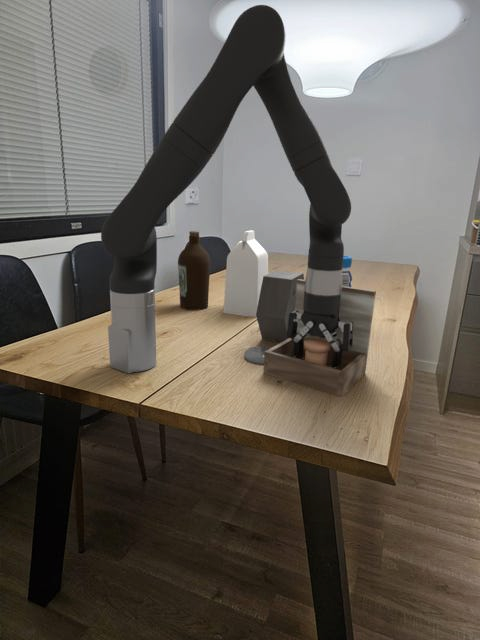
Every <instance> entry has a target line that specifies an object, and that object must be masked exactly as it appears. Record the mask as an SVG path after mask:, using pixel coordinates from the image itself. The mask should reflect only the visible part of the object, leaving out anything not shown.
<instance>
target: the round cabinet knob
mask: <svg viewBox="0 0 480 640" xmlns="http://www.w3.org/2000/svg"><path fill="white" fill-rule="evenodd" d="M304 349H305V350H306V351H305V359H304V360H305V361H308V362H312V363H316V364H320V365H323V366H327V357H328V352H329V351H330V350H331V344H330V343H329V342H328V340H327V339H325V338H320V337H309V338H306V339H304ZM327 367H328V366H327Z"/></svg>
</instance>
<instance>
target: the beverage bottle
mask: <svg viewBox="0 0 480 640" xmlns="http://www.w3.org/2000/svg"><path fill="white" fill-rule="evenodd" d="M352 261H353V258H352V257H351V256H349V255H344V256H343V267H342V286H347V287H353V286H352V284H351V283H352V282H353V276H352V273H351V271H350V269H351V267H352Z"/></svg>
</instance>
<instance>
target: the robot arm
mask: <svg viewBox="0 0 480 640" xmlns="http://www.w3.org/2000/svg"><path fill="white" fill-rule="evenodd" d="M285 46H286V28H285V25H284V22H283V20H282V17H281V15H280V14H279V13H278V11H277V10H276V9H275V8H273V7H271V6H270V5H266V4H257V5H253V6H251V7H249V8H247V9H246V10H244V11H242V13H241V14H240V15H239V16H238V17H237V19H236V20H235V22H234V23H233V26H232V27H231V29H230V32H229V33H228V36H227V38H226V39H225V41H224V43H223V46H222V48H221V49H220V51H219V52H218V54H217V56H216V59H215V60H214V63H213V64H212V66H211V68H210V69H209V70H208V73H207V74H206V75H205V77H204V78H203V80H202V81H201V82H200V84H199V85H198V86H197V87H196V89H195V90H194V92H192V94H191V95H190V97H189V98H188V100H187V101H186V103H185V104H184V105H183V107H182V108H181V109H180V111H179V112H178V114H177V115H176V117H174V120H172V123H171V124H170V126H169V127H168V128H167V131H165V133H164V135H163V136H162V137H161V139H160V141H159V143H158V145H157V146H156V148H155V150H154V151H153V153H152V154H151V156H150V158H149V159H148V161H147V163H146V164H145V166H144V167H143V169H142V171H141V173H140V174H139V176H138V179H137V180H136V182H135V183H134V185H133V186H132V187H131V189H130V190H129V191H128V193H127V194H126V195H125V196H124V197H123V199H122V200H121V201H120V203H119V204H118V205H117V206H116V207H115V208H114V209H113V211H112V212H111V213H109V214H110V215H108V216H107V218H106V219H105V221H104V223H103V225H102V227H101V232H100V238H101V239H100V240H101V243H102V247H103V248H104V250H105V252H106V253H107V254H108V255H109V256H111V257H112V258H114V259H113V268H112V271H111V273H110V276H109V282H108V283H109V296H110V300H109V301H110V317H111V318H110V321H111V324H109V325H108V326H107V331H108V332H107V333H108V334H107V335H108V337H107V338H108V351H109V366H110V367H111V368H113V369H116V370H118V371H121V372H123V373H126V374H132V373H137V372H145V371H147V370H150V369H152V368H154V367H155V366H156V365H157V340H156V338H157V337H156V336H157V335H156V332H157V331H156V299H155V298H156V295H155V294H156V293H155V288H156V287H155V281H156V275H157V269H158V268H157V265H158V263H157V262H158V261H157V259H158V252H157V251H158V239H157V236H158V235H157V230H156V226H157V224H158V222H159V220H160V218H161V217H162V216H163V214H164V213H165V211H166V210H167V209H168V207H169V206H170V205H171V204H172V203H173V202H174V201H175V200H176V199H178V197H179V196H180V195H181V194H182V193H184V192H185V190H186V189H187V188H188V187H189V186H190V185H191V184H192V183H193V182H194V181H195V180H196V179H197V178H198V176H199V175H201V172H203V170H204V169H205V167H206V166H207V164H208V163H210V160H211V159H212V157H213V155H214V154H215V153H216V151H217V150H218V148H219V146H220V144H221V143H222V142H223V141H222V140H223V139H224V138H225V135H226V133H227V131H228V129H229V127H230V125H231V123H232V121H233V118H234V116H235V114H236V112H237V111H238V108H239V106H240V104H241V103H242V101H243V100H244V98H245V97H246V95H247V94H248V93H249V91H251V89H252V88H254V89H255V90H256V93H257V94H258V97H259V98H260V99H261V102H262V103H263V105H264V107H265V108H266V111H267V112H268V115H269V117H270V119H271V122H272V124H273V127H274V129H275V132H276V134H277V137H278V139H279V142H280V144H281V147H282V149H283V152H284V154H285V156H286V158H287V160H288V163H289V165H290V167H291V170H292V172H293V173H294V176H295V178H296V180H297V181H298V183H299V184H300V185H301V186H302V187H303V189H304V192H305V193H306V195H307V198H308V200H309V202H310V204H309V211H308V212H309V213H308V226H309V227H308V229H309V230H308V231H309V247H308V255H307V268H306V274H305V277H304V280H305V291H304V305H303V310H304V311H303V314H302V313H299V311H297V310H295V311H293V312H291V313H290V314H289V320H288V328H287V337H288V338H291V339H293V340H294V355H296V357H295V358H297V359H301V357H302V356H303V345H304V341H302V339H304V337H305V336H306V335H307V334H310V335H311V336H318V337H320V338H326V339H327V340H328V342H329V343H330V344H331V345H332V347H333V349H334V350H335V351H334V352H333V358H332V367H331V368H335V369H337V368H336V367H338V366H339V365H340V364H341V361H342V352H343V351H348V350H349V349H351V348H352V346H353V325H354V323H353V322H352V321H349V322H344V321H340V319H339V310H340V300H341V291H342V267H343V256H345V254H344V253H345V246H344V243H343V240H342V227H343V224H345V223H346V222H347V221H348V219H349V218H350V216H351V213H352V201H351V199H350V196H349V194H348V191H347V189H346V188H345V186H344V184H343V182H342V180H341V178H340V177H339V175H338V173H337V172H336V170H335V168H334V167H333V165H332V162H331V160H330V156H329V155H328V152H327V149H326V147H325V145H324V142H323V141H322V138H321V135H320V134H319V131H318V130H317V127H316V125H315V123H314V122H313V120H312V118H311V117H310V115H309V113H308V111H307V109H306V108H305V106H304V105H303V103H302V101H301V100H300V97H299V95H298V93H297V91H296V88H295V86H294V84H293V81H292V78H291V75H290V72H289V68H288V65H287V60H286V58H285V52H284V51H285ZM300 319H301V320H302V322H303V324H304V326H305V327H304V328H303V329H302V330H301V331H300V332H299V334H298V333H297V325H298V321H300ZM338 327H340V328H341V331H342V332H343V343H342V342H341V340H340V336H339V334H338V332H337V331H336V329H337V328H338ZM331 334H332V335H331Z"/></svg>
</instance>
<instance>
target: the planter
mask: <svg viewBox="0 0 480 640" xmlns="http://www.w3.org/2000/svg"><path fill="white" fill-rule="evenodd" d="M298 279H302V280H305V275H304V272H296V271H287V270H274V271H272V272H269V273H268V274H267V275H265V276H263V281H262V286H261V291H260V296H259V302H258V307H257V312H256V317H255V318H256V320H257V324H258V329H259V331H260V336H261V339H262V340H266V341H267V340H268V341H272V342H278V343H281V342H283V341H285V340H287V339H289V338H288V337H287V328H288V320H289V314H290V313H291V312H293V311H295V302H296V289H297V280H298Z"/></svg>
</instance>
